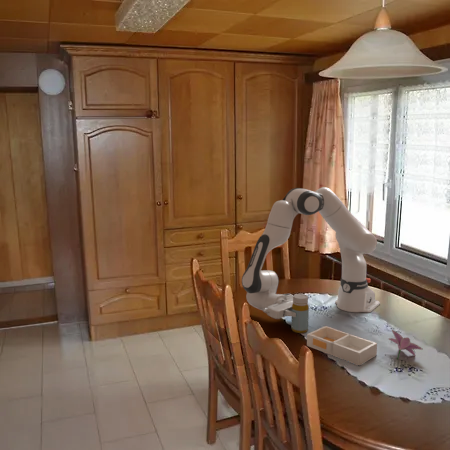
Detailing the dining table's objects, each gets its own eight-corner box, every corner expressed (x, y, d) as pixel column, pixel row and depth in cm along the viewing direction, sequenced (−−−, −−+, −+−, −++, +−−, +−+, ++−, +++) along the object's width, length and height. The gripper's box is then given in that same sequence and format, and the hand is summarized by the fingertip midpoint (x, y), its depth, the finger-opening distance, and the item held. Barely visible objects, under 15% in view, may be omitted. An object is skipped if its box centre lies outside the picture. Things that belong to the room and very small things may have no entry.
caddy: (325, 336, 193) (325, 325, 192) (376, 355, 176) (377, 343, 176) (306, 345, 185) (306, 334, 184) (358, 366, 168) (358, 353, 167)
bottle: (307, 334, 196) (308, 299, 193) (290, 332, 197) (291, 298, 195) (308, 327, 203) (309, 294, 200) (291, 326, 204) (292, 293, 202)
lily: (424, 367, 170) (429, 340, 172) (396, 357, 167) (402, 331, 169) (402, 362, 181) (407, 338, 183) (376, 353, 178) (382, 328, 180)
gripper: (260, 303, 201) (285, 311, 191) (291, 292, 214) (316, 299, 204) (260, 317, 202) (285, 326, 192) (291, 305, 215) (316, 313, 205)
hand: (301, 312), depth 198 cm, fingers closed on bottle, 6 cm apart
